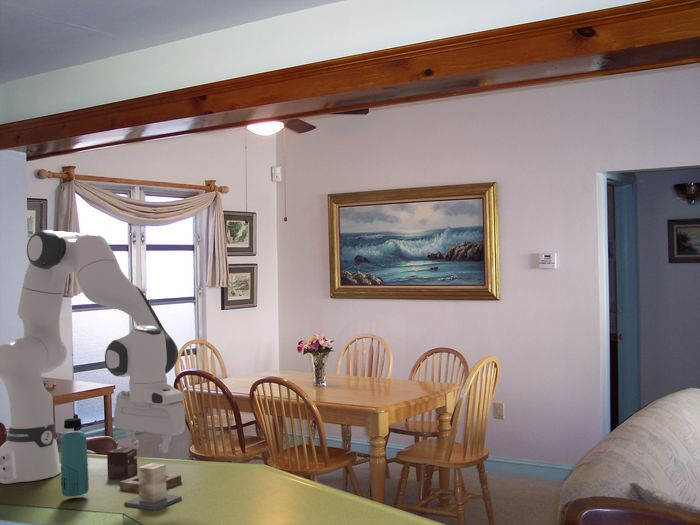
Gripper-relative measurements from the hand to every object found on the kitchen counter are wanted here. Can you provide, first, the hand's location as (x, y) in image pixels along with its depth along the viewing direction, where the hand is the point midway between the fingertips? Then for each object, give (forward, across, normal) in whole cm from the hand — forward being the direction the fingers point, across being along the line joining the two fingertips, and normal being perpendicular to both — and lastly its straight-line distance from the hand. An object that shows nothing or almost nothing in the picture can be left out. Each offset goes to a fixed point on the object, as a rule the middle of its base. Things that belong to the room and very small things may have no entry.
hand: (148, 450), depth 182 cm
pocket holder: (+13, -10, +11) cm, 20 cm away
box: (+14, -25, +16) cm, 33 cm away
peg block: (+12, +1, 0) cm, 12 cm away
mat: (+13, +1, 0) cm, 13 cm away
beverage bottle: (+13, -20, -5) cm, 25 cm away
